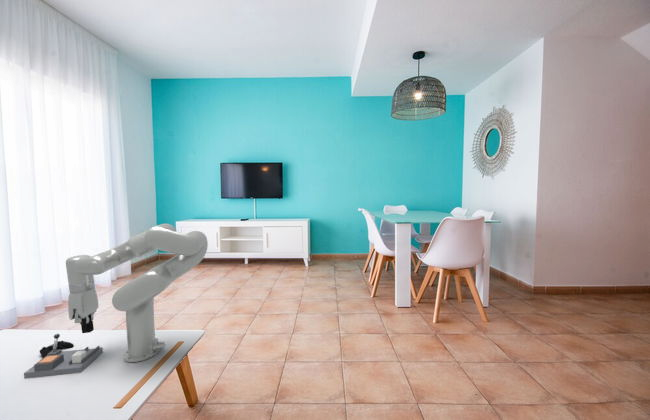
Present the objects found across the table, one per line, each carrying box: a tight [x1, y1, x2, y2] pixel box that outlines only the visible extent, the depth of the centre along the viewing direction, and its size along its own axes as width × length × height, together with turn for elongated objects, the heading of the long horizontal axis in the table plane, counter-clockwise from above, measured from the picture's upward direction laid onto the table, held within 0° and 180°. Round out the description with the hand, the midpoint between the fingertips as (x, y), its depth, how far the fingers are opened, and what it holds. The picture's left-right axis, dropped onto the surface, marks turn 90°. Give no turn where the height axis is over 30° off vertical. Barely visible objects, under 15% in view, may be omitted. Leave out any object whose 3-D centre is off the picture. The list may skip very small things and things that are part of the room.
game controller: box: [39, 340, 75, 358], centre depth 116 cm, size 10×5×7 cm
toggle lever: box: [53, 333, 61, 351], centre depth 111 cm, size 2×2×6 cm
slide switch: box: [72, 350, 86, 363], centre depth 106 cm, size 3×3×3 cm
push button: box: [38, 355, 59, 364], centre depth 103 cm, size 4×4×2 cm
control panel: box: [23, 345, 104, 379], centre depth 107 cm, size 18×13×5 cm
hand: (88, 331), depth 110 cm, fingers closed
